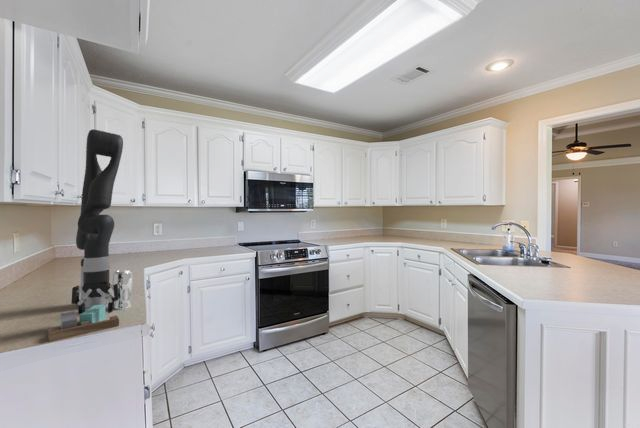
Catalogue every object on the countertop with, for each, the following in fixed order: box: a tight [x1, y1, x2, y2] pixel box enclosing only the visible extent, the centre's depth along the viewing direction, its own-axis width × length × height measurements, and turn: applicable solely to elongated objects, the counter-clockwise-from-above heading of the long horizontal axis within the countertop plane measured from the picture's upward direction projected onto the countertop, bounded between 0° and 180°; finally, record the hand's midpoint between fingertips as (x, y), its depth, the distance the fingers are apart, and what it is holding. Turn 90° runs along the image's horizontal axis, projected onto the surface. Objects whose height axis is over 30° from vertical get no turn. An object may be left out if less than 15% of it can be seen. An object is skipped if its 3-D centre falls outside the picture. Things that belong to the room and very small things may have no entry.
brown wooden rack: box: [47, 314, 120, 343], centre depth 96 cm, size 5×18×2 cm, turn 135°
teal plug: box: [79, 304, 106, 326], centre depth 104 cm, size 12×4×5 cm, turn 15°
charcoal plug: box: [60, 311, 78, 330], centre depth 97 cm, size 12×4×5 cm, turn 45°
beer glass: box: [112, 269, 134, 311], centre depth 120 cm, size 7×7×15 cm
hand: (96, 313), depth 104 cm, fingers open, 8 cm apart
